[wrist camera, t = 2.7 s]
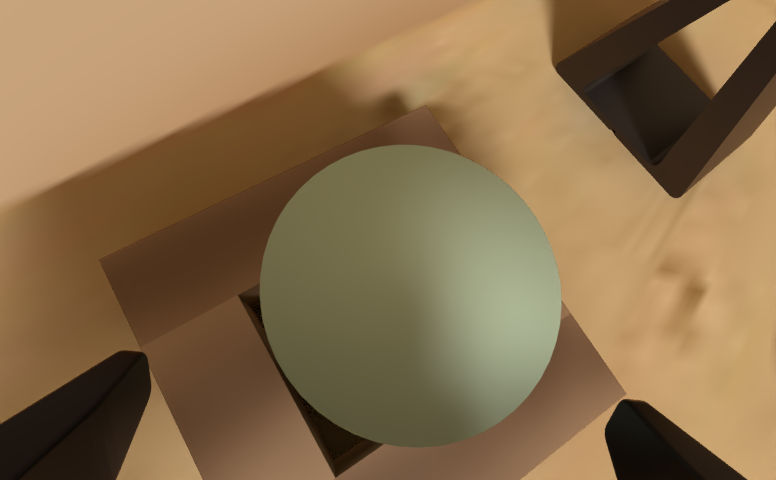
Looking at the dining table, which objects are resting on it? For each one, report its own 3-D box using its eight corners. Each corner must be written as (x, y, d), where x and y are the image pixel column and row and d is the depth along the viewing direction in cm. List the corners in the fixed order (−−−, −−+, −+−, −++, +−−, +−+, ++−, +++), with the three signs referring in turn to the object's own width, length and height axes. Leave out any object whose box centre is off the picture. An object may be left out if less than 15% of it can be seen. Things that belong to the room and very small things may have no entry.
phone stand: (742, 142, 23) (1141, -82, 12) (673, 200, 21) (1061, 4, 10) (626, 22, 25) (882, -281, 13) (553, 68, 23) (774, -233, 12)
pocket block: (579, 391, 18) (626, 393, 15) (297, 608, 15) (290, 664, 12) (412, 142, 20) (426, 104, 18) (137, 279, 17) (98, 259, 14)
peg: (446, 315, 18) (602, 236, 8) (386, 428, 17) (482, 517, 6) (344, 253, 18) (365, 96, 8) (275, 359, 17) (191, 334, 6)
